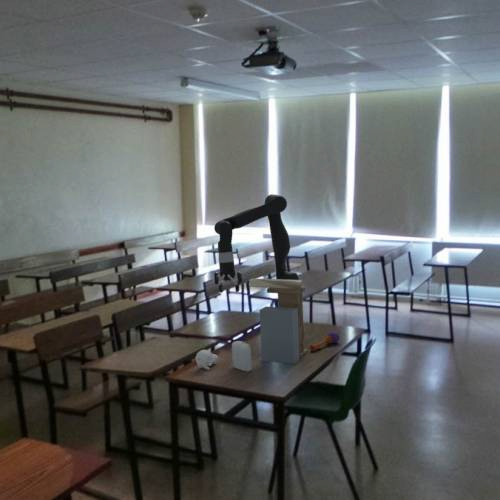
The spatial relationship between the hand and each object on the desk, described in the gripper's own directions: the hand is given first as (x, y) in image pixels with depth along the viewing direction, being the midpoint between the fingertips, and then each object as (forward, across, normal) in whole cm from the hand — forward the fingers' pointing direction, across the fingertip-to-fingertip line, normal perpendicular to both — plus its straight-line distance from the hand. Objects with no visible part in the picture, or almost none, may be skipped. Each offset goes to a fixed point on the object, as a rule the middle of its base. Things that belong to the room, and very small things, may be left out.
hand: (229, 292), depth 282 cm
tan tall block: (+28, -31, +8) cm, 43 cm away
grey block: (+28, -31, +18) cm, 45 cm away
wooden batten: (-4, -28, +7) cm, 29 cm away
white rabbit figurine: (+27, -2, +34) cm, 44 cm away
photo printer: (+27, -18, +33) cm, 47 cm away
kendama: (+30, -46, -7) cm, 55 cm away
